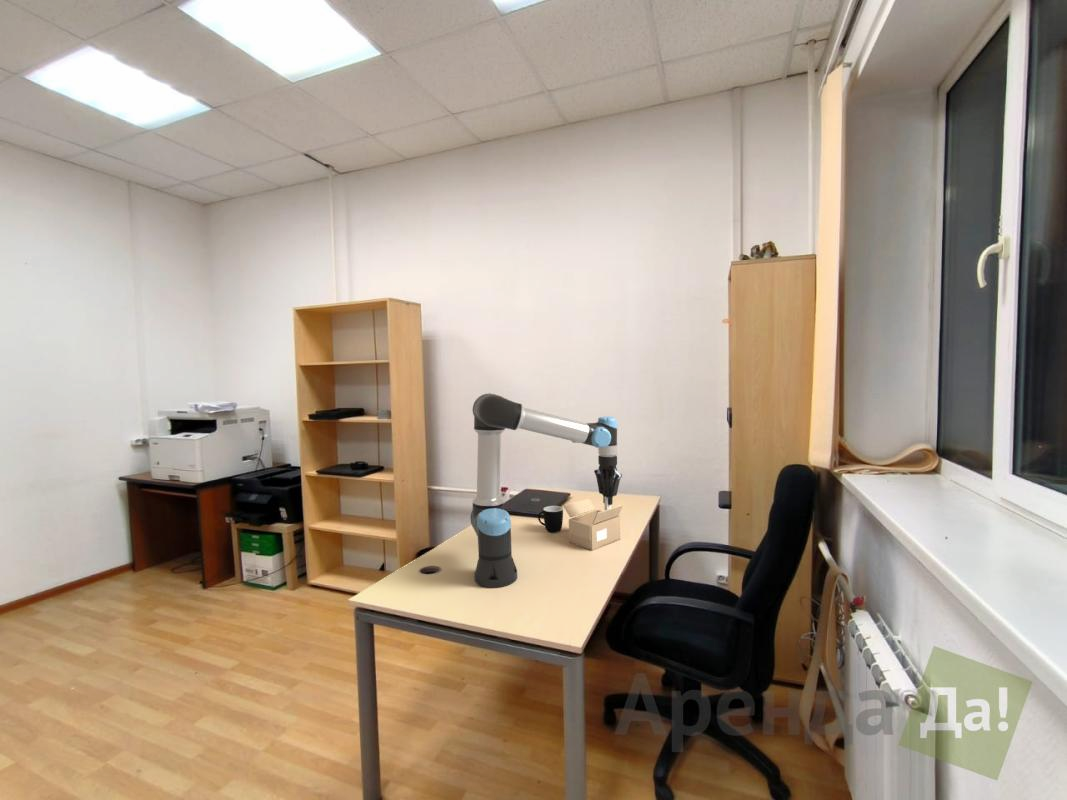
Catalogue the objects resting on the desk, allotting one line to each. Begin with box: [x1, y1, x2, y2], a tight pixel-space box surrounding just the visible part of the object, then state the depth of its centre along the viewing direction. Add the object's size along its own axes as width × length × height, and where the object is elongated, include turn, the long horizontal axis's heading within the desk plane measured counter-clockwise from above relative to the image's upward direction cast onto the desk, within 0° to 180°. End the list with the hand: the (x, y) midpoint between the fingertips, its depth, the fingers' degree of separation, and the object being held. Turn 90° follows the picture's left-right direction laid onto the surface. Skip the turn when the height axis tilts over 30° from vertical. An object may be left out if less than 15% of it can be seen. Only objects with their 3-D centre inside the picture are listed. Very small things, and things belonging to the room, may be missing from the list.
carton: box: [568, 509, 621, 552], centre depth 197 cm, size 18×13×10 cm
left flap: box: [563, 498, 597, 518], centre depth 202 cm, size 16×6×1 cm
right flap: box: [593, 504, 623, 524], centre depth 190 cm, size 16×6×1 cm
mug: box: [537, 505, 564, 534], centre depth 212 cm, size 12×9×10 cm
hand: (607, 511), depth 190 cm, fingers closed
